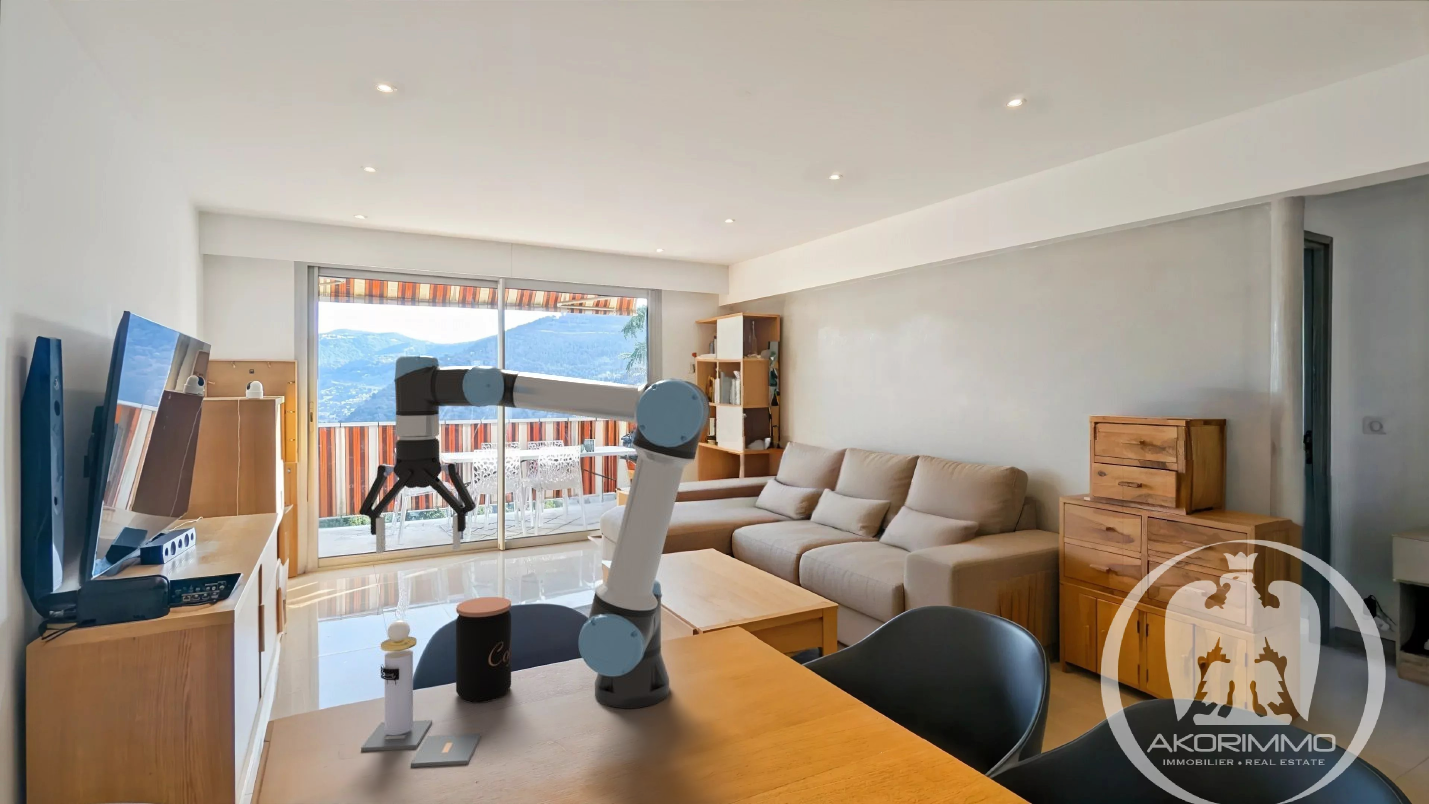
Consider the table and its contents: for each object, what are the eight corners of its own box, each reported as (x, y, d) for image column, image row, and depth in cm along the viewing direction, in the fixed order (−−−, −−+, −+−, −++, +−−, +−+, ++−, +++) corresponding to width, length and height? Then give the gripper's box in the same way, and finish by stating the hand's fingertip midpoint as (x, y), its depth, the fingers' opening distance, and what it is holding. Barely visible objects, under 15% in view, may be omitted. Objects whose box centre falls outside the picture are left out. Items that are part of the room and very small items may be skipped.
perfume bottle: (399, 722, 124) (399, 613, 124) (423, 728, 122) (423, 617, 122) (373, 737, 119) (373, 623, 119) (398, 743, 117) (398, 627, 117)
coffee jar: (494, 706, 132) (494, 614, 132) (445, 701, 135) (445, 610, 134) (520, 684, 143) (520, 598, 143) (474, 679, 145) (474, 595, 145)
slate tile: (480, 736, 121) (480, 733, 121) (467, 763, 112) (467, 760, 112) (427, 739, 120) (427, 735, 120) (410, 767, 111) (410, 763, 111)
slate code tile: (432, 723, 126) (432, 719, 126) (416, 748, 117) (416, 744, 117) (381, 725, 125) (381, 722, 125) (361, 751, 116) (361, 747, 116)
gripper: (489, 435, 134) (491, 543, 134) (354, 438, 130) (356, 548, 131) (482, 438, 127) (484, 551, 127) (339, 440, 123) (340, 557, 123)
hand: (419, 550), depth 129 cm, fingers open, 13 cm apart
